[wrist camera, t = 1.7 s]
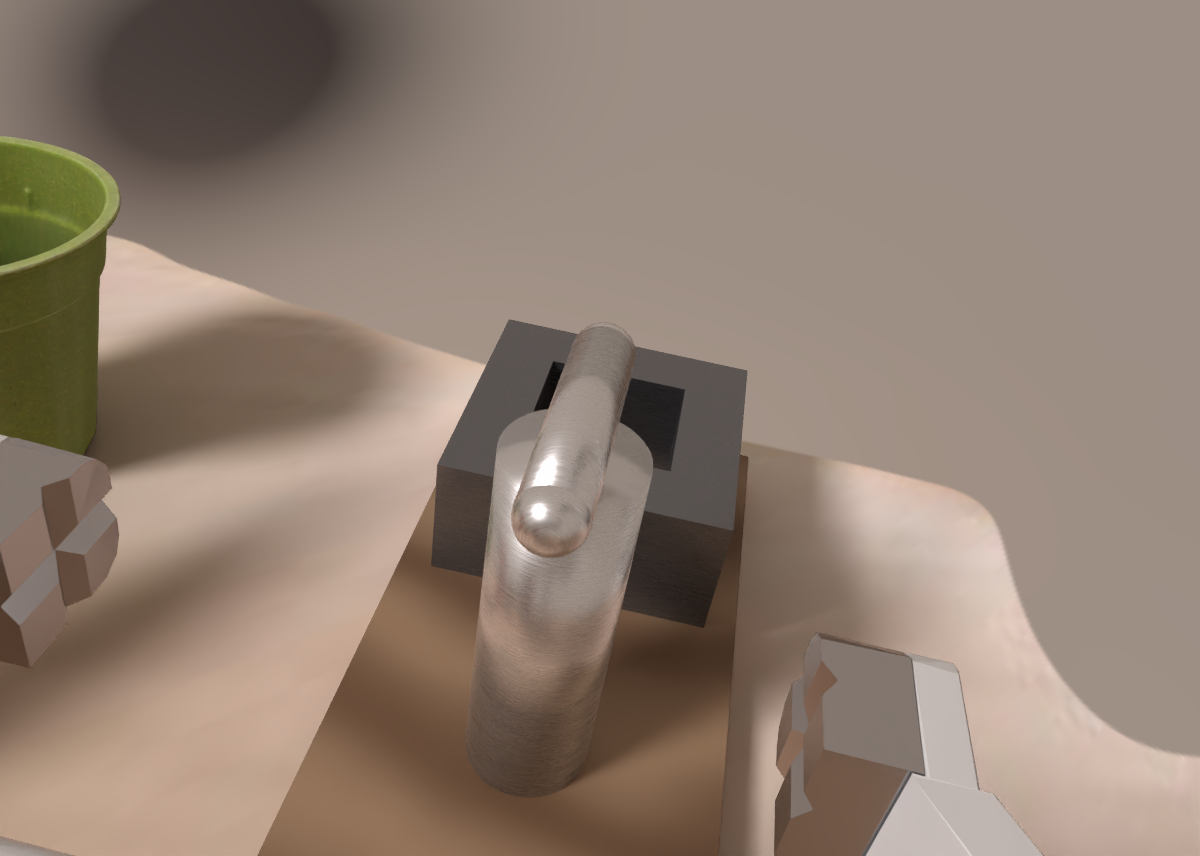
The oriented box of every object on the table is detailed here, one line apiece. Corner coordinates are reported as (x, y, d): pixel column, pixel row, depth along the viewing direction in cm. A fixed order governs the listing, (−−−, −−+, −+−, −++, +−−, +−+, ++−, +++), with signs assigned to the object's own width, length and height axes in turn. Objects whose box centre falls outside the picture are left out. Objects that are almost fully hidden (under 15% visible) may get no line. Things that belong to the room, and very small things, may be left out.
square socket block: (499, 411, 47) (509, 319, 44) (722, 460, 46) (747, 370, 43) (431, 565, 38) (437, 464, 35) (703, 628, 38) (733, 530, 35)
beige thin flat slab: (475, 422, 48) (478, 397, 47) (741, 481, 47) (748, 456, 47) (255, 893, 29) (252, 865, 28) (697, 1002, 28) (709, 978, 27)
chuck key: (500, 629, 36) (543, 296, 28) (608, 654, 36) (683, 326, 28) (425, 851, 29) (454, 491, 21) (560, 884, 29) (642, 534, 21)
